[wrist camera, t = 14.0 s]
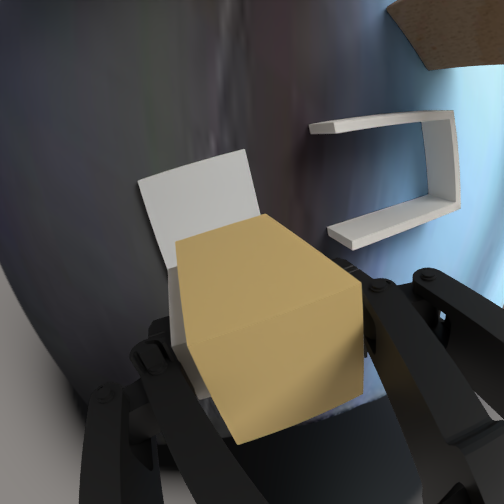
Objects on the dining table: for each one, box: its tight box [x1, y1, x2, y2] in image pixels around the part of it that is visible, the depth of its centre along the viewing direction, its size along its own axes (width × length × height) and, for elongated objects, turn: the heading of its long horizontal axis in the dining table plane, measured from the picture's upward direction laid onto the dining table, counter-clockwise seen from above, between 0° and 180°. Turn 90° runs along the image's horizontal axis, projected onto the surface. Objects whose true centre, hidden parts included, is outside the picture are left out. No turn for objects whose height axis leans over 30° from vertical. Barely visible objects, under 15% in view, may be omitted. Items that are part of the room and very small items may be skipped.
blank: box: [175, 214, 364, 445], centre depth 13 cm, size 5×5×9 cm
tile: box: [138, 149, 260, 270], centre depth 28 cm, size 10×10×1 cm
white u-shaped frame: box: [309, 110, 461, 250], centre depth 29 cm, size 12×17×5 cm
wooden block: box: [386, 0, 504, 70], centre depth 18 cm, size 10×10×20 cm
